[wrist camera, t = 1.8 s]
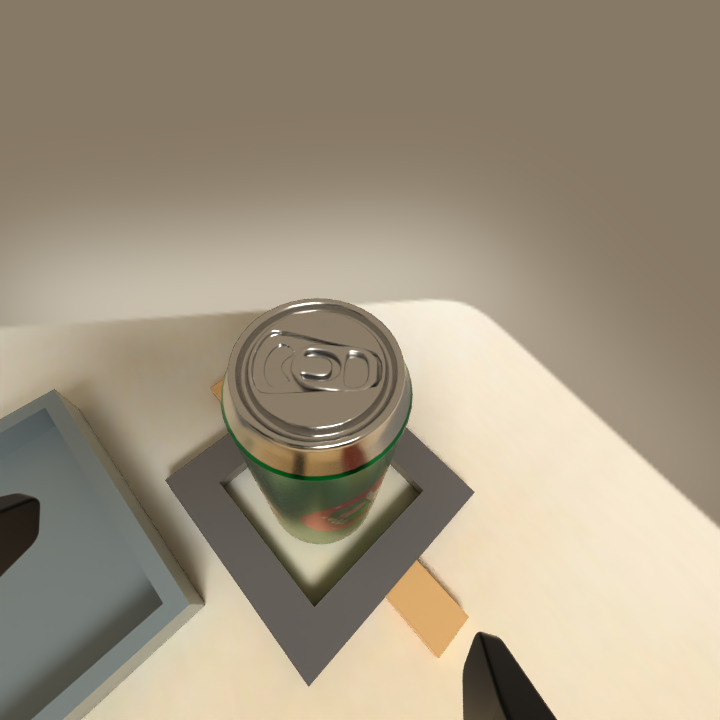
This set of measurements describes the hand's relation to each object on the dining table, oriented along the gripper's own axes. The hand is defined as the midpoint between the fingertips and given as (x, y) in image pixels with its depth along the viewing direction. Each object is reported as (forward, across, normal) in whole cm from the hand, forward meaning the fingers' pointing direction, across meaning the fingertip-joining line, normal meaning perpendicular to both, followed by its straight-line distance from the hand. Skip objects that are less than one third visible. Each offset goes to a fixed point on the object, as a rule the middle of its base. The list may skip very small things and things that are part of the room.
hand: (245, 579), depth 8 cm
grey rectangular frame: (+11, 0, +5) cm, 12 cm away
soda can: (+11, 0, +5) cm, 12 cm away
